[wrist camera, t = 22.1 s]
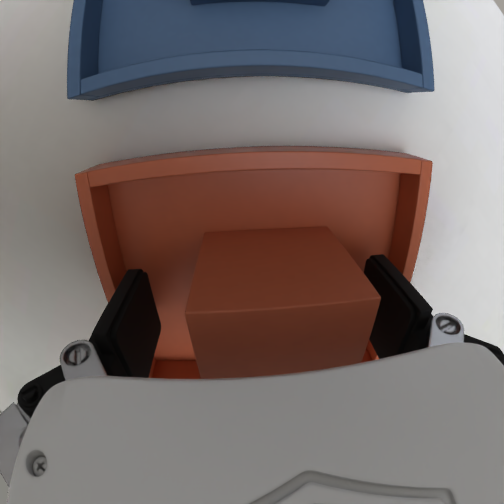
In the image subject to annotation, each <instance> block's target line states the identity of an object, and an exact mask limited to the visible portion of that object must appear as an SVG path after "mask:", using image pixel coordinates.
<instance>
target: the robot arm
mask: <svg viewBox="0 0 504 504" xmlns="http://www.w3.org/2000/svg"><path fill="white" fill-rule="evenodd" d="M364 274H365V276H366V277H367V278H368V280H369V281H370V282H371V284H372V285H373V287H374V288H375V289H376V291H377V292H378V294H379V295H380V296H381V300H380V304H379V308H378V311H377V315H376V318H375V322H374V325H373V328H372V332H371V335H370V338H369V340H370V342H371V344H372V346H373V348H374V350H375V352H376V354H377V356H378V358H379V359H377V360H372V361H367V362H362V363H357V364H352V365H346V366H340V367H334V368H328V369H321V370H314V371H307V372H299V373H290V374H280V375H270V376H257V377H241V378H219V379H165V378H149V374H150V370H151V366H152V362H153V358H154V354H155V350H156V347H157V343H158V339H159V336H160V332H161V322H160V318H159V315H158V312H157V308H156V304H155V301H154V297H153V293H152V290H151V286H150V282H149V278H148V274H147V273H146V272H143V270H142V269H128V271H127V272H126V274H125V275H124V277H123V279H122V280H121V282H120V284H119V285H118V287H117V289H116V291H115V292H114V294H113V296H112V297H111V299H110V301H109V303H108V305H107V306H106V308H105V310H104V312H103V314H102V315H101V317H100V319H99V321H98V323H97V325H96V327H95V328H94V330H93V332H92V335H91V337H90V339H89V341H87V340H77V341H74V342H72V343H70V344H68V345H67V346H66V347H65V348H64V349H63V350H62V352H61V355H60V363H61V365H60V366H58V367H56V368H54V369H52V370H51V371H49V372H47V373H45V374H43V375H41V376H39V377H38V378H36V379H34V380H32V381H30V382H28V383H27V384H25V385H24V386H23V387H22V388H21V390H20V392H19V394H18V404H15V403H14V402H13V403H12V404H11V405H10V406H9V407H8V408H7V409H6V410H4V411H3V412H2V413H1V414H0V473H1V475H2V476H3V478H4V480H5V481H6V483H7V484H8V486H9V492H8V498H7V504H504V354H503V352H502V351H501V350H500V348H498V347H497V346H494V345H492V344H489V343H486V342H484V341H481V340H478V339H476V338H473V337H470V336H467V335H465V334H464V327H463V324H462V323H461V321H460V320H459V319H458V318H456V317H455V316H453V315H451V314H448V313H439V314H436V315H435V316H434V317H433V316H432V314H431V312H432V310H433V309H432V308H431V306H430V305H429V304H428V303H427V302H426V300H425V299H424V298H423V297H422V296H421V295H420V293H419V292H418V291H417V290H416V289H415V288H414V287H413V286H412V284H411V283H410V282H409V281H408V280H407V279H406V278H405V277H404V276H403V274H402V273H401V272H400V271H399V270H398V269H397V268H396V267H395V266H394V265H393V264H392V263H391V262H390V261H389V259H388V258H387V257H386V256H385V255H383V254H380V255H371V256H370V257H369V259H367V260H366V262H365V268H364Z"/></svg>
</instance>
